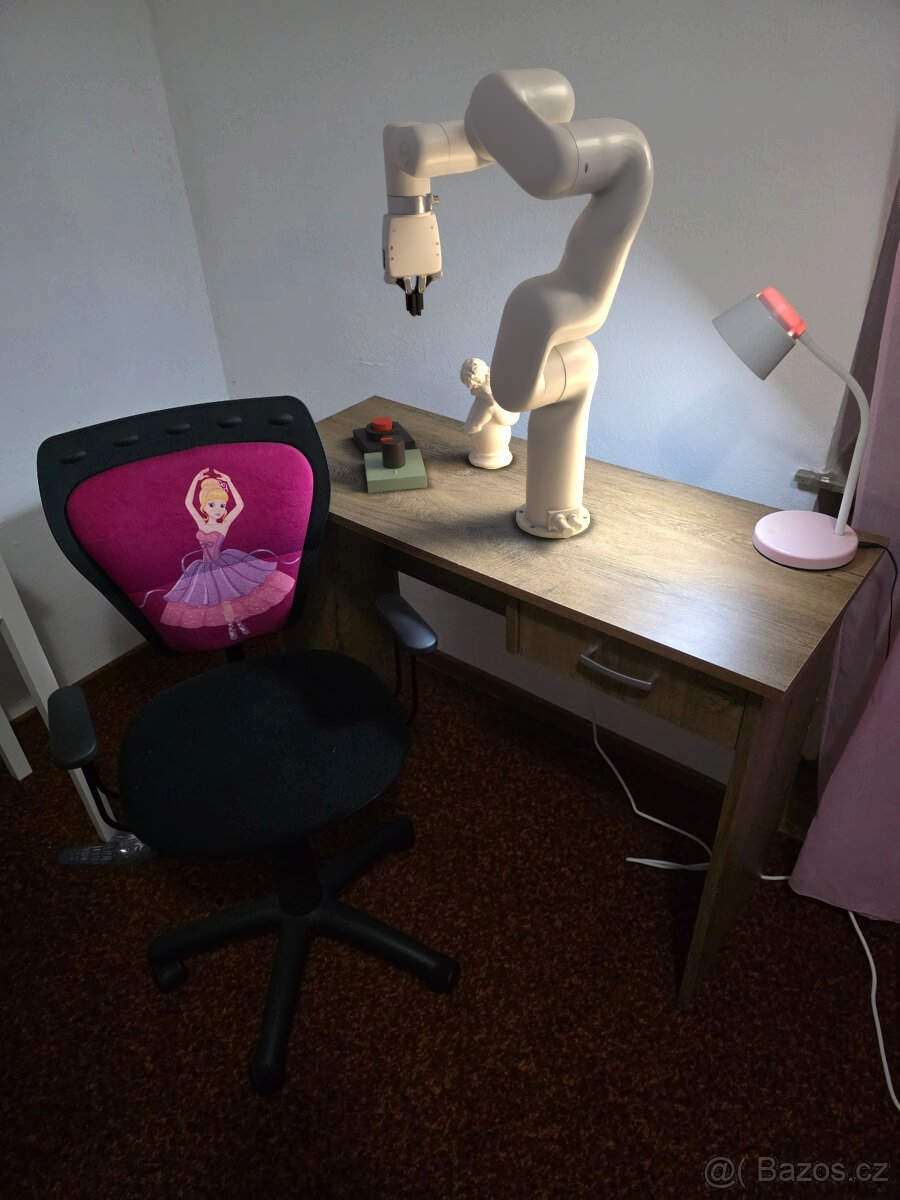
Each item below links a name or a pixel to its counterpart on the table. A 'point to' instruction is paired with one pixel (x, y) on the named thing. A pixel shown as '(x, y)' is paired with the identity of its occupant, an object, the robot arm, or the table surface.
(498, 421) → the cherub figurine
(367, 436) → the button box
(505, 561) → the table surface
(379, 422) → the button
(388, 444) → the dial
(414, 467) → the console
